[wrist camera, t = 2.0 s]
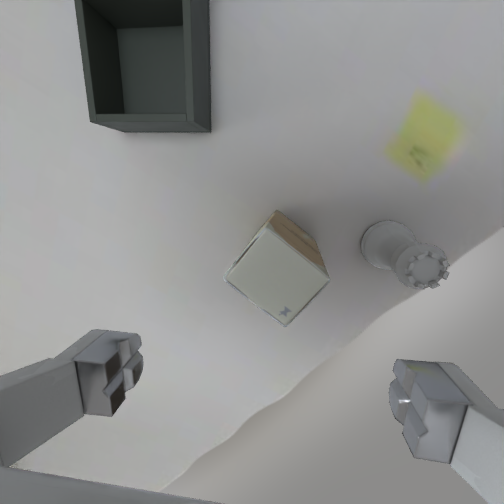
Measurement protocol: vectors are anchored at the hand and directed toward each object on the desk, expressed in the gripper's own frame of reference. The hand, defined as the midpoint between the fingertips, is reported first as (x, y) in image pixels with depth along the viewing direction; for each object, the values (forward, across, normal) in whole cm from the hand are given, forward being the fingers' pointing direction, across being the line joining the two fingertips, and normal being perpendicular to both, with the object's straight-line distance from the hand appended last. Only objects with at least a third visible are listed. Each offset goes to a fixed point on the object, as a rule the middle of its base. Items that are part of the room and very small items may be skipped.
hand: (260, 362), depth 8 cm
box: (+18, 0, 0) cm, 18 cm away
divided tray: (+18, +11, -18) cm, 28 cm away
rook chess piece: (+18, -10, 0) cm, 21 cm away
